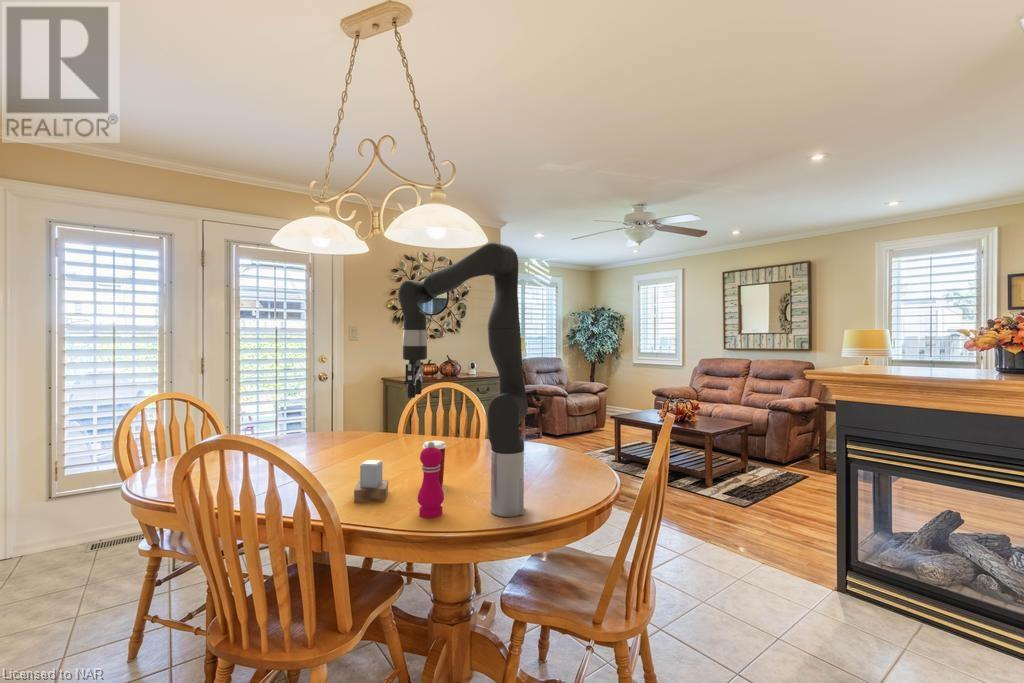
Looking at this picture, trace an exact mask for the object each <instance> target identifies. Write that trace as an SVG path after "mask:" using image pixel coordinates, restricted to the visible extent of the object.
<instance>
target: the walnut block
mask: <svg viewBox="0 0 1024 683" xmlns="http://www.w3.org/2000/svg"><path fill="white" fill-rule="evenodd" d="M388 493H389V479H382V484H380V485H379V486H378V487H377V488H367V487H360V480H359V481H358V482H357V484H356V485H355V487H354V490H353V496H354V497H353V500H354V503H370V502H371V503H372V502H373V503H374V502H386V501H387V497H388Z"/></svg>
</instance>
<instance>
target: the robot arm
mask: <svg viewBox="0 0 1024 683" xmlns="http://www.w3.org/2000/svg"><path fill="white" fill-rule="evenodd" d="M481 276H490V277H493V281H494V301H493V304H492V307H491V310H490V313H489V316H488V318H487V319H488V320H487V336H488V337H487V339H488V347H489V352H490V354H491V356H492V359H493V362H494V365H495V367H496V369H497V373H498V376H499V377H498V378H499V394H498V395H495V396H494V397H493V398H492V399H491V400H490V402H489V404H488V409H487V429H488V431H487V434H488V439H489V441H488V442H489V443H490V449H491V450H490V513H491V514H493V515H495V516H498V517H505V518H508V517H509V518H510V517H511V518H512V517H517V516H523V515H524V514H525V513H524V512H525V510H524V508H525V506H524V504H525V492H524V491H525V442H524V441H525V440H523V438H521V436H520V422H522V421H524V419H525V418H526V416H527V414H528V409H529V408H528V407H529V404H528V397H527V393H526V387H525V382H524V381H525V380H524V372H523V370H524V369H523V356H522V355H523V353H522V352H523V351H522V335H521V334H522V333H521V322H520V312H519V311H520V309H519V308H520V307H519V294H518V293H519V292H518V290H519V258H518V254H517V252H516V251H515V249H514V248H512V247H511V246H509V245H505V244H502V243H499V242H488V243H486V244H484V245H482V246H481V247H479V248H477V249H476V250H475V251H473V252H471V253H470V254H469V255H466V256H465V257H463V258H462V259H461V260H459V261H456V262H454V263H452V264H451V265H448V266H446V267H443V268H440V269H439V270H436V271H433V272H432V273H429V274H428V275H426V277H424V279H423V281H418V280H410V279H409V280H408V279H407V280H404V281H402V282H401V284H400V285H399V288H398V293H397V294H398V301H399V304H400V308H401V313H402V315H403V331H402V359H403V360H405V361H408V363H406V364H405V378H404V380H405V381H404V383H405V385H406V386H407V398H408V399H414V398H415V397H416V395H421V394H422V383H423V381H424V360H425V361H426V360H427V359H428V334H427V314H426V313H425V312H424V311H421V309H419V305H418V304H420V305H421V304H423V305H424V304H426V303H429V302H431V301H433V300H434V299H436V298H438V296H440V295H441V296H442V295H444V294H445V293H449V292H451V291H453V290H455V289H457V288H459V287H460V286H461V285H463V284H464V283H465V282H467V281H468V280H470V279H473V278H477V277H481Z"/></svg>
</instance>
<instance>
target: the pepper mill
mask: <svg viewBox="0 0 1024 683" xmlns="http://www.w3.org/2000/svg"><path fill="white" fill-rule="evenodd" d="M419 459H420V462H421V464H422V465H421V468H422V469H421V471H422V472H423V478H422V482H421V487H420V488H419V491H418V493H417V503H418V504H419V505H420V507H419V514H418V515H419V516H420V517H422V518H426V519H431V518H432V519H433V518H434V519H435V518H438V517H440V516H441V515H442V514H443V506H442V504H443V502H444V501H445V494H444V490H443V488H442V487H443V486H441V485H440V482H439V476H438V474H439V470H440V464H439V463H440V462H441V460H442V453H441V451H440V450H439V449H438V448H435V447H434V443H433V442H429V443H428V448H425V449H424V450H423V449H422V450H421V452H420V454H419Z"/></svg>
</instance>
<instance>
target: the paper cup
mask: <svg viewBox="0 0 1024 683" xmlns="http://www.w3.org/2000/svg"><path fill="white" fill-rule="evenodd" d="M429 442H433V443H434V447H435V448H438V449H439V450H440V451H441V453H442V460H441V462H440V463H439V464H440V470H439V474H438V476H439V482H440V485H441V487H443V485H444V474H445V473H444V472H445V471H444V470H445V458H446V456H445V455H446V448H447V445H446V443H445V441H444V440H443V441H442V440H430V441H425V442H424V443H423V445H422V451H423V450H424V449H425V448H428V443H429Z"/></svg>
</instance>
